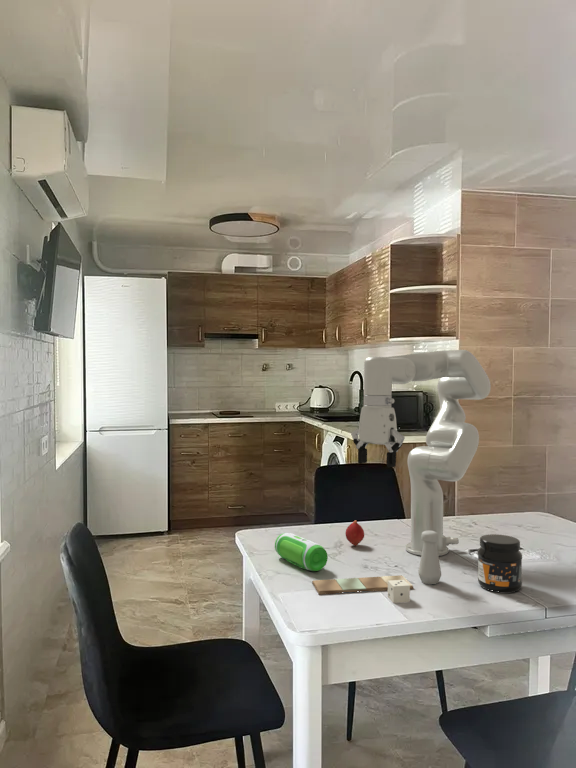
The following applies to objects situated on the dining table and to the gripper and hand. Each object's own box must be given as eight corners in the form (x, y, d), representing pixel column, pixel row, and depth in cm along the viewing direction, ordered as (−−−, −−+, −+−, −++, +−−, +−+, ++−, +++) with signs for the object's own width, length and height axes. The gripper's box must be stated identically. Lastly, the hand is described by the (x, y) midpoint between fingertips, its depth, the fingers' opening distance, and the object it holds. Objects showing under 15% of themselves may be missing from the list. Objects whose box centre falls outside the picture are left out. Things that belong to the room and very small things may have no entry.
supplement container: (470, 587, 147) (470, 539, 147) (487, 576, 156) (487, 531, 155) (513, 597, 141) (513, 547, 141) (528, 585, 149) (528, 538, 149)
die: (403, 596, 142) (403, 579, 142) (409, 602, 138) (410, 585, 138) (387, 597, 141) (387, 580, 141) (392, 603, 137) (392, 586, 137)
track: (402, 578, 154) (402, 575, 154) (413, 588, 147) (413, 585, 147) (312, 583, 151) (312, 580, 151) (318, 594, 143) (318, 591, 143)
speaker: (329, 570, 161) (329, 543, 161) (307, 575, 157) (307, 547, 157) (293, 554, 176) (293, 529, 176) (273, 558, 172) (273, 533, 172)
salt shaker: (428, 587, 148) (428, 535, 147) (413, 580, 153) (413, 530, 153) (446, 583, 150) (446, 532, 150) (431, 576, 155) (431, 527, 155)
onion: (343, 547, 183) (343, 521, 183) (348, 542, 188) (348, 517, 188) (361, 549, 181) (361, 523, 181) (366, 544, 186) (366, 518, 186)
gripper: (412, 403, 157) (411, 467, 157) (361, 401, 170) (360, 460, 169) (395, 403, 152) (394, 469, 152) (344, 401, 164) (343, 462, 164)
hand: (376, 465), depth 161 cm, fingers open, 9 cm apart
